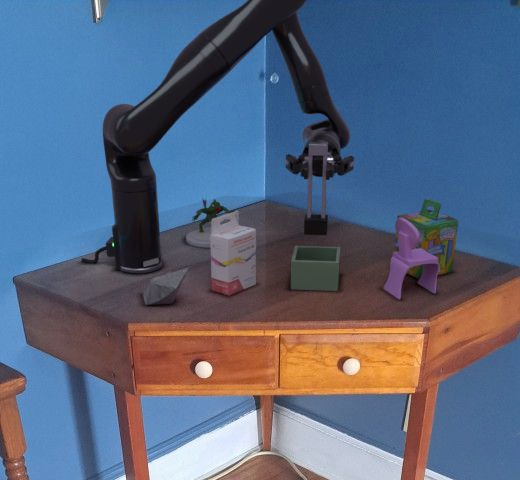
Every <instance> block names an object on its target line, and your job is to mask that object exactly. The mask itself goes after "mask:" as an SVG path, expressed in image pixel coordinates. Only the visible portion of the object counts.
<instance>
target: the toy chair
mask: <svg viewBox="0 0 520 480" xmlns="http://www.w3.org/2000/svg"><path fill="white" fill-rule="evenodd" d="M394 229H395V232H396V231H397V233H398V243H399V251H397V252H394V251H392V256H391V258H390V260H389V261H390V262H389V275H388V278H387V281H386V282H385V284H384V286H383V288H382V289H383V290H384V291H386V292H387V293H388V294H390V295H391V296H393V297H394V298H396V299H397V300H401V299H402V289H403V281H404V279H405V276H406V275H407V271H408V270H409V269H410V268H411V267H413V266H418V265H421V264H423V265H424V270H423V273H422V276H421V278H420V280H419V279H418V281H417V284H418V285H420V286H421V287H423V288H424V289H426V290H427V291H429V292H431V293H432V294H434V295H435V294H437V282H438V276H439V275H438V270H439V263H438V258H437V257H436V256H434V255H431V254H429V253H428V252H426V251H425V250H423V249H422V248H418V249H413V248H415V247H417V246H418V245H419V240H420V236H419V232H418V230H417V229H416V228H415V226H414V225H413V224H412V223H410V222H409V221H408V220H406V219H404V218H402V217H401V218H398V219H396V221H395V223H394ZM412 249H413V250H412ZM437 275H438V276H437Z"/></svg>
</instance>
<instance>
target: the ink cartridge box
mask: <svg viewBox="0 0 520 480" xmlns="http://www.w3.org/2000/svg"><path fill="white" fill-rule="evenodd" d="M234 211H235V212H232V213H225V214H222V215H220V216H216V217H217V218H213V219H212V221H210V228H211V235H210V245H211V248H210V272H211V273H210V274H211V276H210V277H211V291H212V292H215V293H218V294H221V295H225V296H228V297H230V296H233V295H234V294H237V293H239V292H241V291H244V290H246V289H248V288H252V287H253V286H256V285H257V229H256V228H253V227H249V226H244V225H240V224H239V223H240V222H239V219H240V210H234ZM225 220H229V222H225V223H222V222H224V221H225ZM220 223H221V224H220Z"/></svg>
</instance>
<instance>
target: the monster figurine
mask: <svg viewBox="0 0 520 480" xmlns="http://www.w3.org/2000/svg"><path fill="white" fill-rule="evenodd" d="M202 205H203V207H201V208H199V209H196V211H195V215H194V216H193V215H192V219H191V220H192V222H195V221H196V220H198V219H199V217H200V216H201V215H202V214H205V215H206V216H205V218H204V219H203V220H201V222H200V223H199V227H198V229H195V230H192V231H190V232H188V233H186V236H185V241H186V243H187V244H188V245H191V246H194V247H197V248H209V249H211V245H210V235H211V227H203V226H205V224H207V223H211V221H212V219H213V218H217V217H218V216H217V215H219V214H220V213H222V212H225V213H226V214H229V213H232V212H235V211H236V210H229V209H228V207H226V206H224V205H221V203H220V202H219V201H217V199H216V198H215V199H213V200H212V201H211V202H210V205H209V206H208V207H207V199H204V197H202ZM220 224H222V222H221V223H220Z"/></svg>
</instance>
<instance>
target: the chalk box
mask: <svg viewBox="0 0 520 480" xmlns="http://www.w3.org/2000/svg"><path fill="white" fill-rule="evenodd" d="M441 206H442V204H441V202H439V201H435V200H432V199H429V198H425V199H424V200H423V203H422V207H421V210H419V211H415V212H409V213H404V214H399V215H397V217H396V218H397V219H398V218H401V217H402V218H404V219H406V220H408V221H409V222H410V223H412V224H413V225H414V226H415V228H416V229H417V230H418V232H419V236H420V240H419V245H418V246H417V247H415V248H413V249H418V248H422V249H423V250H425V251H426V252H428V253H429V254H431V255H434V256H436V257H437V258H438V263H439V270H438V275H437V277H438V276H441V275H446V274H450V273H452V272H453V267H454V266H453V265H454V258H455V250H456V243H457V236H458V235H457V234H458V229H459V228H458V227H459V220H458V219H457V218H455V217H452V216H450V215H446V214H444V213H441V212H440V210H441ZM428 207H432V208H433V210H432V209H428ZM397 219H396V220H397ZM393 248H394V250H393V252H397V251H399V243H398V233H397V231H396V230H395V240H394V247H393ZM413 249H412V250H413ZM423 270H424V265H423V264H421V265H418V266H413V267H411V268H410V269H409V270H408V271H407V273H406V275H409V276H411V277H413V278H416V280H418V281H419V280H420V278H421V276H422V273H423Z"/></svg>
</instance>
